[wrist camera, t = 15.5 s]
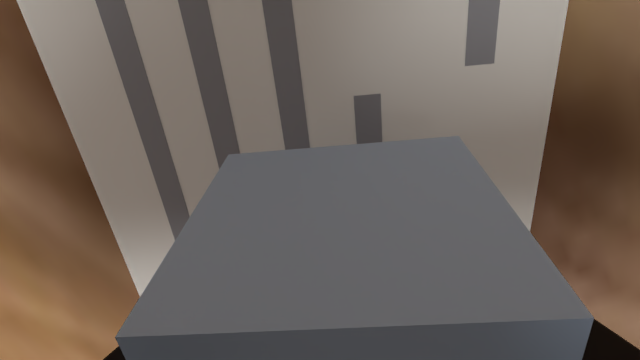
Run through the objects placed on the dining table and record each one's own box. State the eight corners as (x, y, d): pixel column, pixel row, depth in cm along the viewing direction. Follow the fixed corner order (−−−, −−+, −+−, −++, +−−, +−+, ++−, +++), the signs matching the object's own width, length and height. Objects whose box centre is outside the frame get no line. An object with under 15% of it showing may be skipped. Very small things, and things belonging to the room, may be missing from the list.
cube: (458, 136, 8) (593, 317, 4) (448, 309, 11) (526, 549, 6) (228, 154, 9) (115, 336, 4) (266, 317, 11) (216, 547, 7)
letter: (611, -289, 7) (619, -296, 7) (506, 356, 15) (508, 361, 15) (-52, -180, 8) (-61, -184, 8) (173, 368, 16) (171, 372, 16)
